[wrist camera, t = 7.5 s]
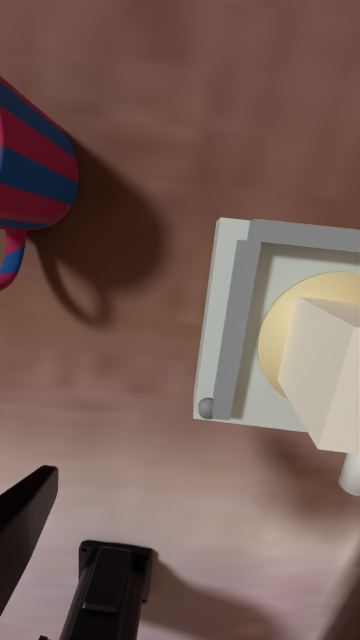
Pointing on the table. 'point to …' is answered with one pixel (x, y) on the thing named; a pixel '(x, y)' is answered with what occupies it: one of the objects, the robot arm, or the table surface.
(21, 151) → the mug
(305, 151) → the table surface
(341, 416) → the spout can
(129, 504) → the table surface
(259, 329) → the grey tray
